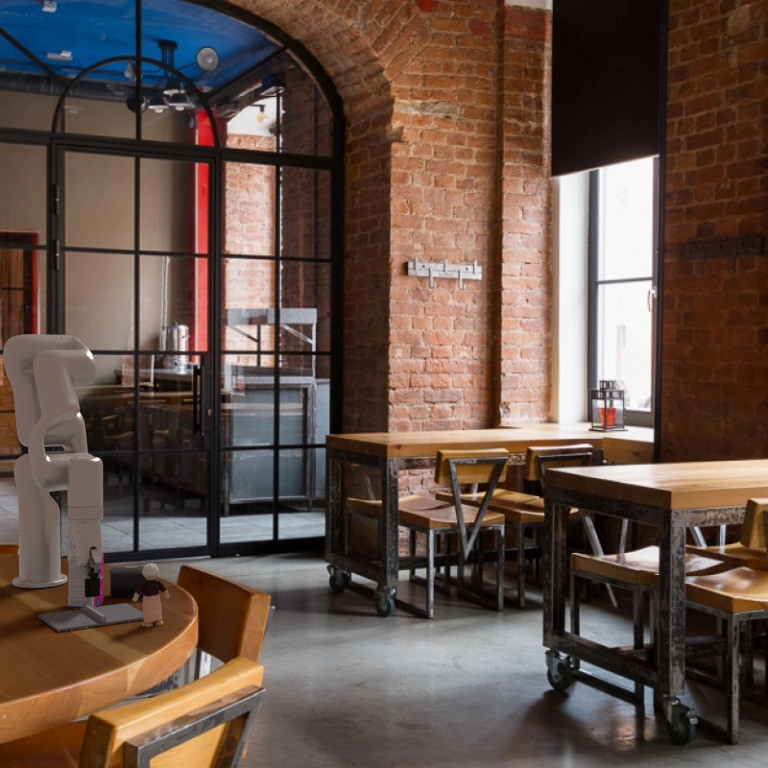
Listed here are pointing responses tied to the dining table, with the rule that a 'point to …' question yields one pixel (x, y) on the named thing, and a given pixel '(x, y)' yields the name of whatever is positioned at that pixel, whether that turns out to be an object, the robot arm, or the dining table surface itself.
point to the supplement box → (82, 585)
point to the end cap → (125, 581)
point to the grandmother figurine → (151, 596)
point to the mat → (91, 616)
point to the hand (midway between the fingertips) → (86, 592)
